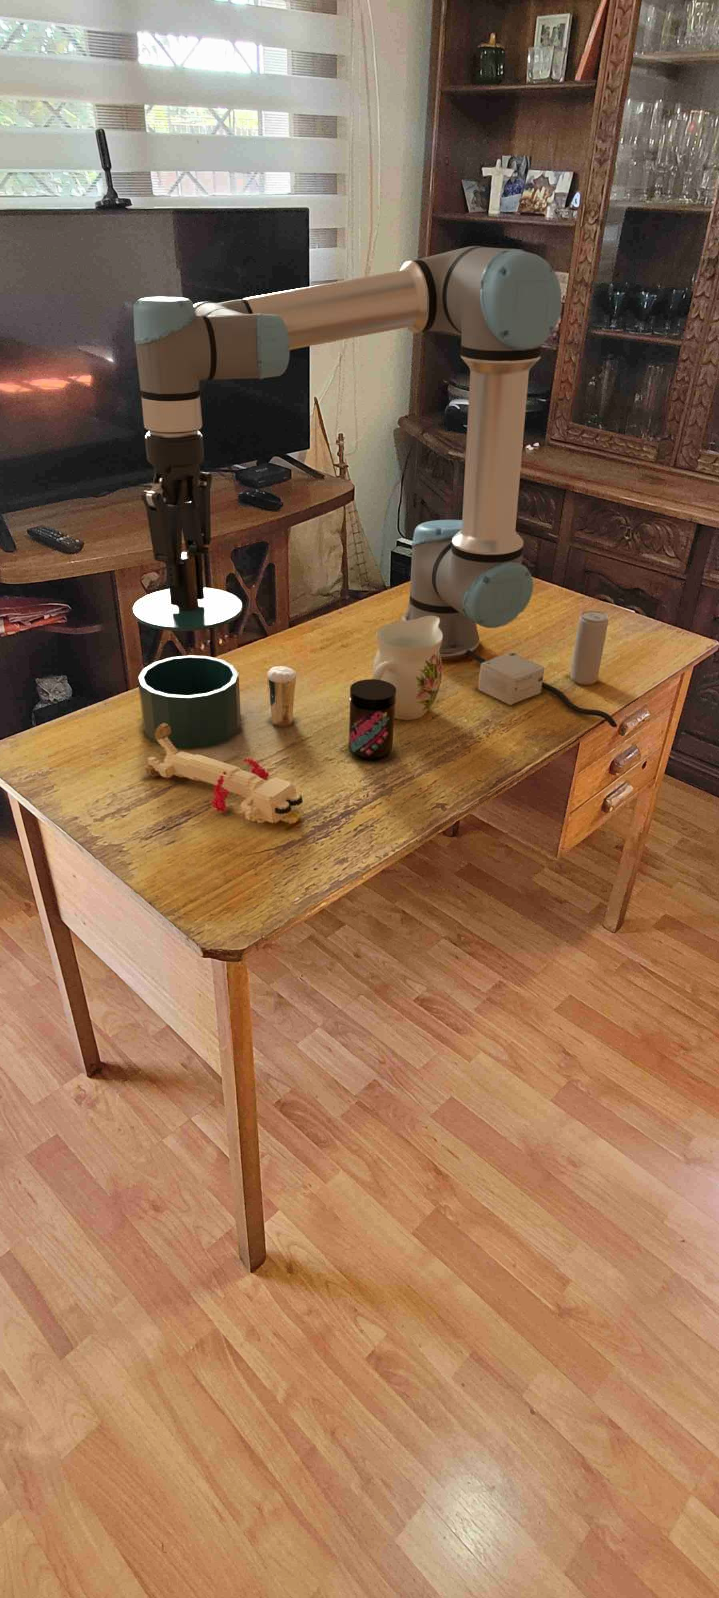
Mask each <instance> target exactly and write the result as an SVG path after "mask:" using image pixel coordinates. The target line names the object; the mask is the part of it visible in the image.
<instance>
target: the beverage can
mask: <svg viewBox="0 0 719 1598" xmlns="http://www.w3.org/2000/svg"><path fill="white" fill-rule="evenodd" d="M608 625H609V616H608V614H607V613H604V612H602V611H597V610H586V611H582V612H581V613H580V616H579V618H578V624H577V630H576V636H575V641H574V648H573V654H572V660H571V666H570V673H569V677H570V679H571V680H572V682H574V683H575V684H577V685H580V686H581V685H582V686H590V685H593V684H595V683H596V682H597V681H598V680H599V674H600V668H601V663H602V658H603V653H604V646H605V643H606V638H607V637H606V636H607V631H608Z"/></svg>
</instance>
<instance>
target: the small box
mask: <svg viewBox="0 0 719 1598" xmlns="http://www.w3.org/2000/svg"><path fill="white" fill-rule="evenodd" d="M544 673H545V666H543V665H541V664H540V663H537V662H534V661H532V660H529V659H528V658H525V657H523V656H521V655H520V654H517V653H515V652H510V653H506V654H504V655H501V656H500V655H499V656H495V657H493V658H492V659H489V660H486V662H483V663H480V668H479V674H478V675H479V677H478V684H477V689H478V691H481V692H483V693H484V694H486V695H488V696H490V697H492V698H495V699H497V700H499V701H501V702H502V703H504V704H507V705H508V706H512V705H514V704H516V703H519V702H521V701H523V700H527V699H529V698H531V697H534V696H538V695H540V694H541V693H542V682H544V681H543V680H544Z"/></svg>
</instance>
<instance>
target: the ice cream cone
mask: <svg viewBox="0 0 719 1598" xmlns="http://www.w3.org/2000/svg"><path fill="white" fill-rule="evenodd" d="M301 667H302V665H299V668H298V669H297V670H298V671H297V672H296V671H295V670H294V669H293V668H292V667H289V666H286V665H277V666H272V667H271V668H270V669H269V670H268V671H267V672H266V683H267V690H268V696H269V703H270V704H269V705H270V712H271V722H272V724H274V725H275V726H277V727H278V726H279V727H286V726H289V725H290V724H292V723H293V720H294V719H293V718H294V704H295V691H296V683H297V682H296V681H297V675H298V673H299V671H300V668H301Z"/></svg>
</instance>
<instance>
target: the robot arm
mask: <svg viewBox="0 0 719 1598" xmlns="http://www.w3.org/2000/svg"><path fill="white" fill-rule="evenodd" d="M562 298H563V297H562V289H561V284H560V281H559V278H558V276H557V274H556V272H555V270H554V269H553V268H552V266H551V265H550V263H549V262H548V261H546V259H544V258H543V257H541V256H540V255H538V254H535V253H532V252H528V251H525V250H524V249H520V248H519V249H518V248H502V247H501V248H500V247H487V246H481V245H476V246H475V245H471V246H466V247H462V248H458V249H453V250H450V251H446V252H442V253H439V254H435V255H430V256H426V257H423V258H418V259H412V260H408V261H405V262H404V263H403V264H402V266H401V267H400V269H399V270H397V271H389V272H385V273H379V274H373V275H368V276H362V277H356V278H351V279H346V280H339V281H334V282H328V283H322V284H317V285H311V286H306V287H305V286H304V287H300V288H295V289H288V290H283V291H277V292H272V293H267V294H261V295H255V296H254V295H253V296H249V297H244V298H241V299H232V300H228V301H222V302H213V301H210V300H207V301H200V302H196V303H193V301H192V300H191V299H190V298H188V297H187V298H186V297H179V296H147V297H142V298H140V299H137V301H136V302H135V303H134V305H133V333H134V338H133V342H134V343H135V354H136V361H137V370H138V371H137V372H138V379H139V388H140V397H141V407H142V419H143V427H144V429H145V430H146V431H147V432H146V433H145V435H144V442H145V443H144V444H145V453H146V454H145V455H146V460H147V461H148V463H149V464H151V465H152V467H153V468H154V475H153V480H152V482H153V486H152V487H151V488H150V489H149V490H143V491H142V492H141V494H140V496H141V500H142V502H143V505H144V506H145V509H146V513H147V514H146V516H147V522H148V527H149V528H148V529H149V534H150V540H151V546H152V553H153V559H154V560H155V562H162V563H164V564H165V569H166V577H167V578H166V580H167V584H168V587H169V588H168V589H170V600H171V605H174V606H179V607H184V608H188V607H190V605H189V593H188V581H187V568H186V562H182V553H183V542H184V547H185V548H184V549H185V550H186V552H187V553H192V554H194V556H195V568H196V581H197V593H198V599H200V600H202V599H204V589H203V588H204V577H203V571H204V566H203V564H204V563H203V554H204V555H207V554H208V553H209V549H210V548H209V547H208V546H209V545H210V544H211V542H212V530H211V528H212V527H211V524H212V523H211V488H212V487H211V486H212V482H213V474H212V473H210V472H206V471H205V472H204V471H201V469H200V466H199V465H200V464H202V462H203V461H204V459H205V450H204V438H203V437H204V435H203V434H202V433H201V431H199V430H201V428H203V417H202V405H201V391H200V381H213V380H214V381H215V380H242V379H247V380H248V379H259V380H264V378H265V379H266V378H272V377H273V378H274V377H280V376H282V375H283V374H285V372H286V370H287V368H288V366H289V360H290V351H291V350H296V349H301V348H306V347H307V348H308V347H311V346H317V345H321V344H327V343H332V342H338V341H343V340H347V339H348V340H349V339H353V338H359V337H364V336H369V335H374V334H380V333H384V332H390V331H394V330H399V329H404V328H405V329H406V328H407V329H408V330H409V331H410V332H411V333H414V334H418V333H423V332H429V331H440V332H441V331H442V332H449V333H457V334H460V335H461V338H460V340H461V341H460V358H461V359H462V361H463V362H464V364H466V365H467V367H468V368H469V385H468V387H469V388H468V407H467V424H466V425H467V426H466V445H465V463H464V464H465V465H464V482H463V499H462V500H463V502H462V515H461V516H462V519H437V520H430V521H429V520H428V521H425V522H422V523H420V524H418V525H417V526H416V527H415V529H414V530H413V537H412V543H411V563H410V564H411V567H410V580H409V581H410V585H409V598H408V599H409V601H408V606H407V609H406V611H405V613H403V615H402V617H401V620H400V621H406V620H414V619H417V618H420V617H424V616H436V617H439V618H440V623H439V628H440V630H441V631H442V634H443V639H442V643H441V646H440V650H439V653H440V656H441V662H442V663H451V662H458V661H463V660H467V659H470V658H471V659H473V660H475V661H476V662H478V663H480V664H481V663H483V662H486V661H487V660H486V659H485V658H483V657H482V656H480V655H479V654H477V652H478V651H479V646H480V635H479V631H478V626H481V627H483V628H488V629H496V628H501V627H503V626H506V625H508V624H510V623H511V622H513V621H514V620H516V619H517V617H518V616H519V615H520V614H521V613H523V612H524V611H525V609H526V608H527V606H528V605H529V603H530V601H531V598H532V595H533V591H534V579H533V576H532V574H531V572H530V571H529V569H528V567H527V566H526V565H523V556H524V555H523V554H524V543H525V542H524V539H523V538H522V537H521V536H520V535H519V533H518V532H517V531H516V528H517V527H516V526H517V517H518V516H517V515H518V502H519V492H520V479H521V468H522V458H523V457H522V456H523V445H524V434H525V422H526V411H527V398H528V385H529V376H530V375H529V374H530V371H531V368H532V367H533V366H534V365H535V364H537V362H538V361H539V360H540V359H541V357H542V348H543V343H544V342H546V341H547V340H548V339H549V337H550V336H551V332H552V331H553V330H555V329H556V326H557V324H558V323H559V319H560V316H561V313H562V311H561V310H562V303H563V302H562V301H563V299H562ZM206 546H207V547H206ZM541 689H544V690H547V691H548V692H550V693H552V694H554V695H556V697H558V698H559V699H560V700H561V701H562V702H563V704H564V705H565V706H566V707H567V708H568V709H570V710H571V711H573V712H575V713H577V714H580V715H585V716H595V717H600V718H602V719H604V720H605V721H606V722H607V723H608V725H610V727H612V728H618V725H617V722H616V721H615V719H614V718H613V717H612V715H610V714H609V713H607V712H605V711H603V710H598V709H592V708H591V709H590V708H583V707H579V706H577V705H576V704H574V703H573V702H572V701H571V700H570V699H569V698H568V696H566V695H565V694H564V693H563V692H562V691H561V690H560V689H559V688H557V687H555V686H553V685H551V684H548V683H546V682H544V681H542V687H541Z"/></svg>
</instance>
